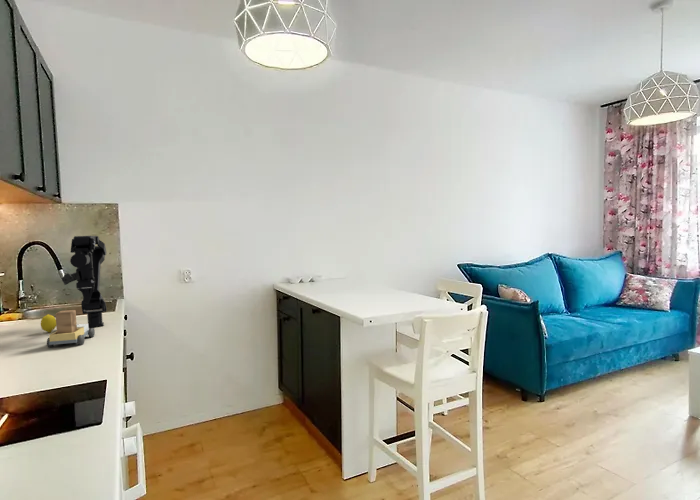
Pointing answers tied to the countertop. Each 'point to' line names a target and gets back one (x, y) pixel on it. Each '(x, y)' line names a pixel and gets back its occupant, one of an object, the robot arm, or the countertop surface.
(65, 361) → the countertop surface
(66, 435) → the countertop surface
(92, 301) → the robot arm
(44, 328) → the lemon
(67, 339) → the toy chassis
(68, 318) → the walnut block
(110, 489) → the countertop surface
